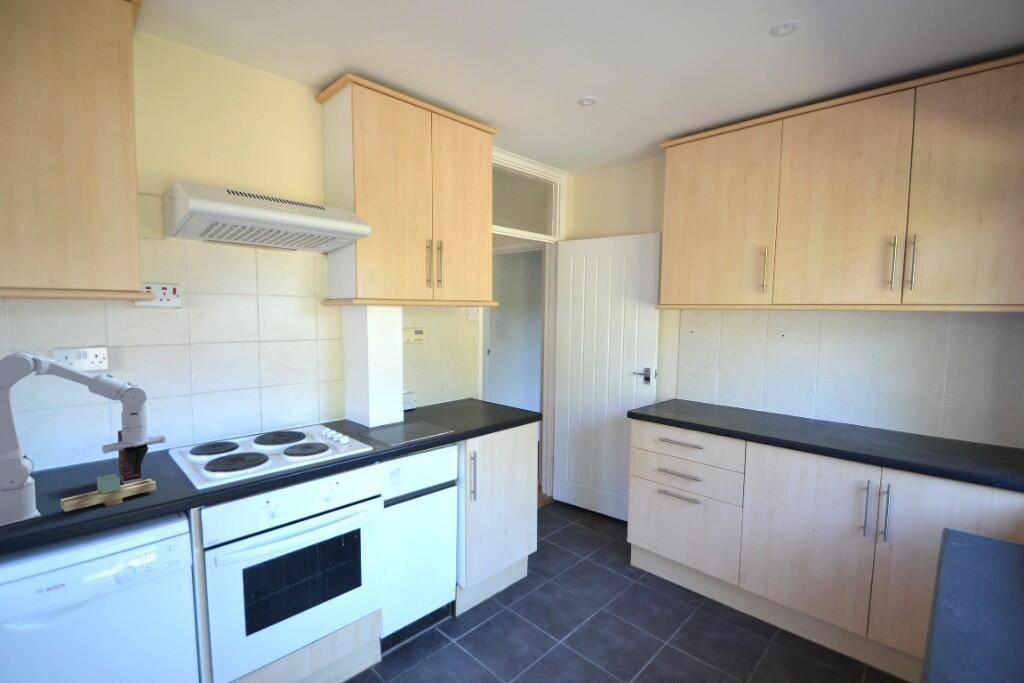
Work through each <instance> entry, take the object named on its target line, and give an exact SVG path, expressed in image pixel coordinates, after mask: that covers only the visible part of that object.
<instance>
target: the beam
mask: <svg viewBox="0 0 1024 683" xmlns="http://www.w3.org/2000/svg"><path fill="white" fill-rule="evenodd" d="M154 490H157V482H156V481H155V480H153V479H152V478H147V479H143V480H141V481H137V482H132V483H127V484H122V485H121V484H120V490H116V491H112V492H108V493H103V494H102V493H101V492H99V491H98V490H96V491H91V492H86V493H81V494H78V495H73V496H70V497H66V498H65V497H64V498H61V499H60V507H61V509H62V510H63V511H64V512H65V513H66V512H70V511H74V510H79V509H82V508H87V507H91V506H94V505H99V504H103V505H104V506H105V507H106V508H107V507H111V506H114V505H118V504H122V503H123V501H124V500H123V499H124V498H127V497H131V496H134V495H139V494H142V493H146V492H151V491H154Z"/></svg>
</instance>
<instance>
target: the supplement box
mask: <svg viewBox="0 0 1024 683" xmlns="http://www.w3.org/2000/svg"><path fill="white" fill-rule="evenodd" d="M117 442H122V429H121V430H118V431H117ZM117 452H118V475H119V477H120V482H122V485H125V484H129V483H133V482H138V481H142V479H143V478H142V466H141V467H140V471H139V472H132V469H131V465H130V463H129V461H128V459H127V457H126V456H125V454H124V453H123V451H122V450H118V451H117Z"/></svg>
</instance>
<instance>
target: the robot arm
mask: <svg viewBox="0 0 1024 683" xmlns="http://www.w3.org/2000/svg"><path fill="white" fill-rule="evenodd" d="M34 372H35V373H34ZM32 373H34V376H44V375H45V376H48V375H51V376H52V375H53V376H55V377H58V378H59V377H60V378H62V379H65V380H69V381H71V382H74V383H78V384H80V385H83V386H86V387H87V389H88V391H89V392H90V393H92V394H95V395H98V396H101V397H103V398H106V399H110V400H112V401H120V402H121V404H122V405H121V406H122V411H121V412H120V414H121V430H122V442H118V441H117V442H114V443H109V444H106V445H105V444H104V445H102V446H101V451H102V453H103V454H109V453H110V452H111V453H112V452H116V451H117V452H119V451H118V450H122V451H123V453H124V454H125V456H126V457H127V459H128V461H129V463H130V465H131V469H132V472H139V471H140V467H141V468H142V463H143V460H144V458H145V455H146V454H147V452H148V451H149V446H151V445H157V444H165V443H166V436H165V435H158V436H150V437H149V436H148V430H147V428H148V426H147V425H148V424H147V423H148V422H147V409H146V407H147V405H146V400H147V399H148V398H147V394H146V391H145V389H144V388H143V387H141V386H140V385H138V384H133V382H131V381H128V382H126V381H124V380H121V379H118V378H116V377H114V375H113V374H111V373H107V374H105V373H100V374H96V375H94V374H91V373H89V372H87V371H83V370H81V369H79V368H76V367H73V366H71V365H69V364H66V363H64V362H61V361H59V360H56V359H53V358H51V357H47V356H44V355H40V354H37V355H36V354H35V353H33V352H29V351H17V352H14V353H12V354H8V355H6V356H5V357H3V358H2V359H0V527H3V526H8V525H11V524H14V523H19V522H24V521H28V520H32V519H35V518H40V517H41V516H42V514H41V513H40V512H39V510H38V509H37V500H36V486H35V485H36V484H35V479H34V478H33V477H32V476H30V474H31V473H32V472H33V471H34V468H35V465H34V464H35V463H34V462H33V461H34V460H32V459H31V458H29V457H28V455H27V451H26V449H25V448H24V446H23V443H22V439H21V435H20V434H21V433H20V430H19V426H18V420H17V417H16V413H15V408H14V404H13V400H12V395H11V391H10V390H11V388H12V387H14V386H15V385H16V384H17V383H18V382H20V380H23V379H24V378H25V377H27V376H29V375H31V374H32Z"/></svg>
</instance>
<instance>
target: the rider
mask: <svg viewBox="0 0 1024 683" xmlns="http://www.w3.org/2000/svg"><path fill="white" fill-rule="evenodd" d="M96 482H97V483H96V484H97V485H96V486H97V487H96V488H97V491H99V492H101V493H102V494H103V493H108V492H112V491H116V490H120V486H121V479H120V477H119V476H118V475H117V474H116V473H113V474H109V475H104V476H98V477H96Z"/></svg>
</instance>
